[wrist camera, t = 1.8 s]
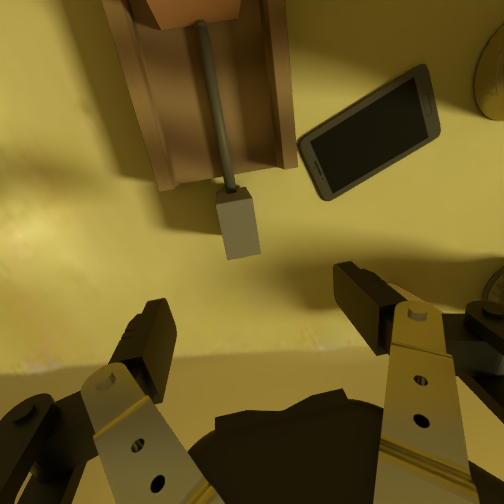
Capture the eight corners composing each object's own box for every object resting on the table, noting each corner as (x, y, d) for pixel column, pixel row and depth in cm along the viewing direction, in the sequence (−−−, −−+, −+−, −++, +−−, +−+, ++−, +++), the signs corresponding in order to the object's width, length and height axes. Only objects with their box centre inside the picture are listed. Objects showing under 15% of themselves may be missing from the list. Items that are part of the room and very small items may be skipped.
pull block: (135, -89, 18) (84, -229, 11) (219, -100, 18) (219, -243, 11) (212, 239, 28) (210, 269, 21) (266, 229, 28) (280, 256, 21)
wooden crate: (85, -111, 17) (43, -191, 13) (257, -132, 18) (268, -215, 14) (169, 184, 25) (159, 191, 21) (285, 163, 26) (297, 167, 22)
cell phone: (437, 135, 27) (443, 134, 26) (322, 203, 28) (325, 204, 28) (421, 61, 24) (427, 59, 23) (294, 141, 26) (296, 141, 25)
